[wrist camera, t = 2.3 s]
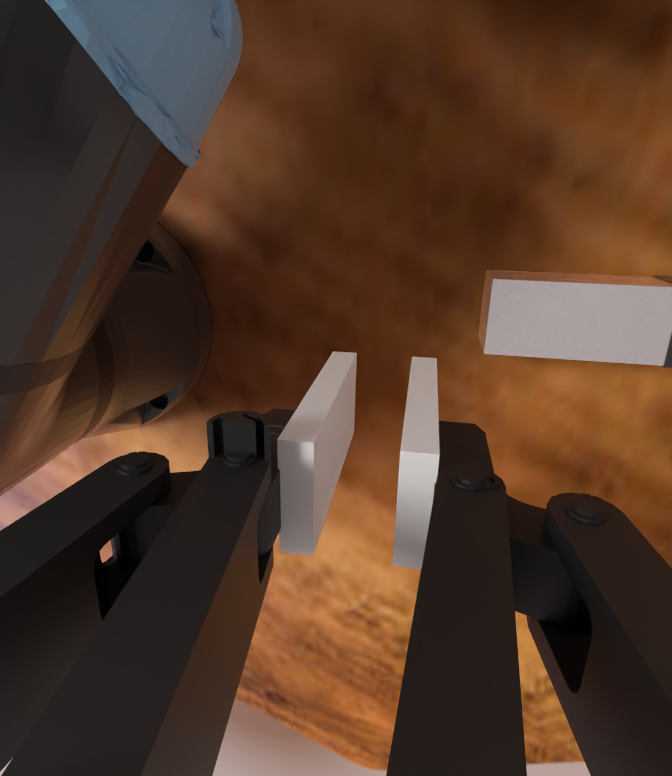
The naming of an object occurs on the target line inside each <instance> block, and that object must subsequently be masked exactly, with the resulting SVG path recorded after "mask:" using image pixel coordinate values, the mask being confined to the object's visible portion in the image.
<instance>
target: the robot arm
mask: <svg viewBox="0 0 672 776" xmlns="http://www.w3.org/2000/svg"><path fill="white" fill-rule="evenodd" d="M242 44H243V32H242V24H241V18H240V14H239V10H238V6H237V3H236V0H0V496H1V495H2V494H4V493H5V492H6V491H8V490H9V489H11V488H12V487H13V486H15V485H16V484H18V483H19V482H21V481H22V480H23V479H25V478H26V477H28V476H29V475H31V474H32V473H33V472H35V471H36V470H38V469H39V468H41V467H42V466H43V465H45V464H46V463H48V462H49V461H50V460H52V459H53V458H55V457H56V456H58V455H59V454H60V453H62V452H63V451H65V450H66V449H67V448H69V447H70V446H71V445H73V444H74V443H76V442H77V441H79V440H80V439H82V438H86V437H91V436H96V435H102V434H107V433H112V432H117V431H122V430H128V429H132V428H136V427H139V426H142V425H144V424H147V423H149V422H151V421H153V420H155V419H157V418H159V417H160V416H162V415H163V414H165V413H166V412H167V411H169V410H170V409H171V408H172V407H173V406H175V405H176V404H177V403H178V402H180V401H181V400H182V399H183V398H184V397H185V396H186V395H187V394H188V393H189V392H190V391H191V390H192V388H193V387H194V386H195V384H196V383H197V381H198V380H199V378H200V376H201V374H202V372H203V370H204V367H205V365H206V362H207V358H208V355H209V350H210V344H211V315H210V308H209V303H208V299H207V295H206V292H205V289H204V286H203V284H202V281H201V279H200V276H199V274H198V272H197V270H196V268H195V267H194V265H193V263H192V261H191V260H190V258H189V257H188V255H187V254H186V252H185V251H184V250H183V248H182V247H181V246H180V244H179V243H178V242H177V241H176V240H175V239H174V238H173V237H172V235H171V234H170V233H169V232H168V231H166V230H165V229H164V228H163V227H162V226H161V225H160V224H158V223H157V220H158V218H159V216H160V215H161V213H162V211H163V209H164V207H165V206H166V204H167V202H168V200H169V199H170V197H171V195H172V193H173V191H174V190H175V188H176V186H177V184H178V183H179V181H180V179H181V177H182V176H183V174H184V172H185V171H186V169H187V167H190V168H192V167H193V166H194V165H195V164H196V163H197V162H198V161H199V159H200V157H201V156H200V150H199V145H200V143H201V141H202V139H203V137H204V135H205V133H206V131H207V129H208V127H209V125H210V123H211V121H212V119H213V117H214V115H215V113H216V111H217V109H218V107H219V105H220V102H221V100H222V98H223V96H224V94H225V92H226V90H227V88H228V86H229V84H230V82H231V80H232V78H233V76H234V74H235V72H236V70H237V67H238V64H239V61H240V56H241V52H242ZM192 169H193V168H192ZM356 362H357V353H351V352H335V351H333V352H332V354H331V356H330V357H329V359H328V360H327V362H326V363H325V365H324V367H323V368H322V370H321V371H320V373H319V374H318V376H317V378H316V379H315V381H314V382H313V384H312V386H311V387H310V389H309V390H308V392H307V393H306V395H305V397H304V398H303V400H302V401H301V403H300V404H299V406H298V408H297V409H296V410H286V409H273V410H271V411H269V412H267V413H265V414H263V415H262V414H259V413H256V412H248V411H234V412H228V413H222V414H220V415H217V416H214V417H212V418H211V419H210V420H208V421H207V422H206V423H207V437H208V451H209V458H208V460H207V461H206V463H205V465H204V466H203V468H202V469H201V470H199V471H191V472H177V473H170V468H169V460H168V459H167V458H166V457H165V456H163V455H160V454H157V453H148V452H138V453H137V452H132V453H129V454H127V455H124V456H120V457H117V458H115V459H113V460H111V461H109V462H107V463H106V464H104V465H103V466H101V467H100V468H98V469H96V470H95V471H93V472H92V473H90V474H89V475H87V476H86V477H84V478H82V479H81V480H79V481H78V482H76V483H75V484H73V485H71V486H70V487H68V488H67V489H65V490H64V491H62V492H61V493H59V494H57V495H56V496H54V497H53V498H51V499H50V500H48V501H46V502H45V503H43V504H42V505H40V506H39V507H37V508H36V509H34V510H32V511H31V512H29V513H28V514H26V515H25V516H23V517H21V518H20V519H18V520H17V521H15V522H14V523H12V524H11V525H9V526H7V527H6V528H4V529H3V530H1V531H0V771H1V770H2V769H3V768H4V767H5V766H6V764H7V763H8V762H9V761H10V760H11V759H12V758H13V759H12V760H11V762H10V763H9V765H8V766H7V768H6V769H5V771H4V772H3V774H2V776H212V774H213V771H214V768H215V764H216V761H217V757H218V754H219V750H220V747H221V743H222V740H223V737H224V733H225V729H226V726H227V723H228V719H229V716H230V712H231V709H232V705H233V702H234V699H235V695H236V692H237V688H238V685H239V681H240V678H241V675H242V671H243V668H244V664H245V661H246V657H247V654H248V650H249V647H250V644H251V640H252V637H253V633H254V630H255V626H256V623H257V619H258V616H259V613H260V609H261V606H262V602H263V599H264V595H265V592H266V588H267V585H268V582H269V578H270V575H271V571H272V568H273V544H274V542H275V539H276V537H277V535H278V533H279V545H280V552H288V553H296V554H304V555H312V556H313V555H314V552H315V549H316V546H317V543H318V540H319V537H320V534H321V531H322V528H323V525H324V522H325V519H326V516H327V513H328V510H329V506H330V503H331V500H332V497H333V494H334V491H335V488H336V485H337V482H338V479H339V476H340V473H341V470H342V467H343V464H344V461H345V458H346V455H347V452H348V449H349V446H350V443H351V440H352V437H353V434H354V422H355V392H356ZM110 540H111V545H112V551H113V556H111V557H110V558H109V559H108V560H107V561H105V562H103V563H102V561H101V558H100V552H99V551H100V550H101V549H102V547H103V546H104V545H105V544H106V543H107V542H108V541H110ZM393 566H399V567H407V568H415V569H421V575H420V581H419V586H418V592H417V598H416V604H415V610H414V616H413V622H412V628H411V633H410V639H409V645H408V651H407V657H406V663H405V669H404V675H403V681H402V686H401V692H400V698H399V704H398V710H397V716H396V722H395V728H394V734H393V739H392V745H391V751H390V757H389V763H388V769H387V775H386V776H527V772H526V758H525V745H524V731H523V717H522V703H521V689H520V676H519V662H518V648H517V634H516V620H515V611H517V612H519V613H522V614H525V615H527V622H528V627H529V630H530V632H531V635H532V637H533V639H534V642H535V644H536V646H537V649H538V651H539V654H540V656H541V658H542V661H543V663H544V665H545V668H546V670H547V673H548V675H549V677H550V680H551V682H552V685H553V687H554V689H555V692H556V694H557V696H558V699H559V701H560V704H561V706H562V708H563V711H564V713H565V715H566V718H567V720H568V723H569V725H570V727H571V730H572V732H573V734H574V737H575V739H576V742H577V744H578V746H579V749H580V751H581V754H582V756H583V758H584V761H585V763H586V765H587V768H588V770H589V773H590V775H591V776H672V568H671V567H670V566H669V565H668V564H667V563H666V562H665V560H664V559H663V558H662V557H661V556H660V555H659V553H658V552H657V551H656V550H655V549H654V548H653V547H652V545H651V544H650V543H649V542H648V541H647V540H646V539H645V537H644V536H643V535H642V534H641V533H640V532H639V530H638V529H637V528H636V527H635V526H634V525H633V524H632V522H631V521H630V520H629V519H628V518H627V517H626V515H625V514H624V513H623V512H621V511H620V510H619V509H618V508H617V507H615V506H614V505H612V504H610V503H608V502H606V501H604V500H602V499H601V498H599V497H596V496H591V495H589V494H584V493H582V494H578V493H563V494H558V495H556V496H553V497H551V498H550V500H549V502H548V503H547V508H546V509H543V508H539V507H535V506H532V505H528V504H526V503H523V502H520V501H518V500H516V499H514V498H512V497H510V496H508V495H507V494H506V486H505V484H504V482H503V480H502V479H501V478H499V477H498V476H497V475H496V474H494V470H493V466H492V461H491V457H490V453H489V448H488V444H487V439H486V435H485V432H484V431H482V430H481V429H480V428H479V427H478V426H477V425H476V424H471V423H459V422H447V421H439V417H438V383H437V358H427V357H412V361H411V369H410V377H409V385H408V393H407V401H406V409H405V417H404V425H403V433H402V441H401V449H400V463H399V478H398V493H397V507H396V522H395V537H394V552H393Z"/></svg>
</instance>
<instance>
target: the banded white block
mask: <svg viewBox="0 0 672 776" xmlns="http://www.w3.org/2000/svg"><path fill="white" fill-rule="evenodd" d="M478 338H479V341H480V344H481V347H482V350H483V353H484V354H494V355H509V356H524V357H539V358H554V359H569V360H584V361H599V362H614V363H629V364H644V365H659V366H663V367H671V368H672V277H669V276H653V277H647V276H624V275H601V274H578V273H555V272H532V271H509V270H486V274H485V282H484V291H483V299H482V308H481V316H480V325H479V333H478Z"/></svg>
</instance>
